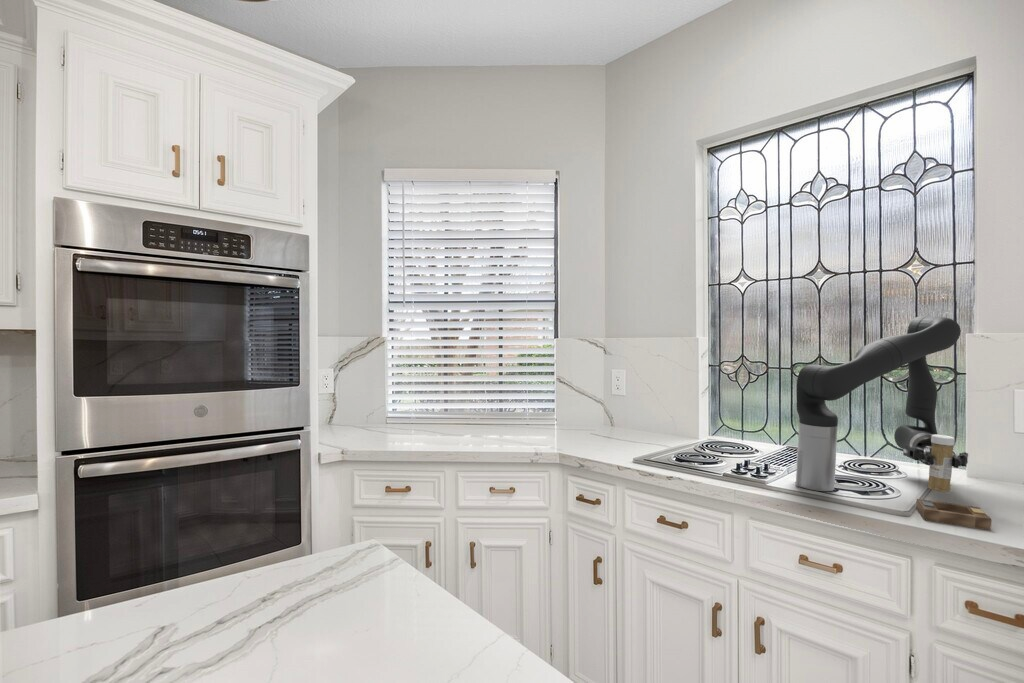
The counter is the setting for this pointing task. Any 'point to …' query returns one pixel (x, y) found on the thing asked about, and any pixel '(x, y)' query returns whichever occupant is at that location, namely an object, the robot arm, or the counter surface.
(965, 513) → the socket block
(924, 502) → the slate tag
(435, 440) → the counter surface
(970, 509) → the brass tag
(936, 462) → the sprinkles bottle
